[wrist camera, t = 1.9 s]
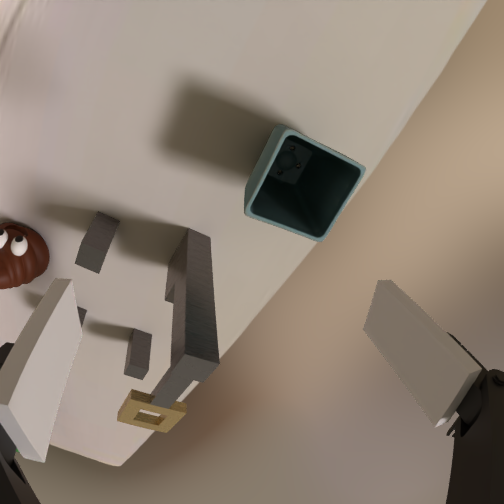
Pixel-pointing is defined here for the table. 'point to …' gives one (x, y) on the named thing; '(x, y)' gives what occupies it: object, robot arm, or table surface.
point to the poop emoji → (21, 255)
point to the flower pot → (300, 184)
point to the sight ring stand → (182, 339)
